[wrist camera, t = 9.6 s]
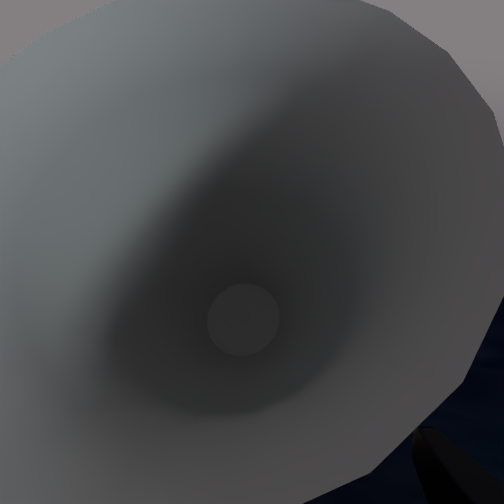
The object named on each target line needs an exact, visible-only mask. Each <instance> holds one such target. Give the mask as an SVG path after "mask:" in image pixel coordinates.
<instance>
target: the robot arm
mask: <svg viewBox="0 0 504 504" xmlns="http://www.w3.org/2000/svg"><path fill="white" fill-rule="evenodd" d="M411 454H412V459H413V463H414V466H415V468H416V471H417V474H418V477H419V479H420V482H421V485H422V488H423V490H424V493H425V496H426V499H427V501H428V504H504V484H503V483H502V482H500V481H499V480H498V479H497V478H495V477H494V476H493V475H492V474H491V473H489V472H488V471H487V470H486V469H484V468H483V467H482V466H481V465H480V464H478V463H477V462H476V461H475V460H473V459H472V458H471V457H470V456H469V455H467V454H466V453H465V452H464V451H462V450H461V449H460V448H459V447H458V446H456V445H455V444H454V443H453V442H451V441H450V440H449V439H448V438H447V437H445V436H444V435H443V434H442V433H440V432H439V431H438V430H437V429H435V428H434V427H430V426H428V427H417V428H416V429H415V430H414V435H413V442H412V449H411Z"/></svg>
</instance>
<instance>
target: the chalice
mask: <svg viewBox="0 0 504 504" xmlns="http://www.w3.org/2000/svg"><path fill="white" fill-rule="evenodd" d="M503 296H504V146H503V143H502V139H501V136H500V133H499V130H498V126H497V123H496V120H495V117H494V113H493V111H492V110H491V109H490V107H489V106H488V105H487V103H486V102H485V101H484V100H483V98H482V97H481V96H480V94H479V93H478V92H477V90H476V89H475V88H474V86H473V85H472V84H471V82H470V81H469V80H468V79H467V77H466V76H465V74H464V73H463V72H462V71H461V69H460V68H459V66H458V65H457V64H456V63H455V61H454V60H453V59H452V57H451V56H450V55H449V53H448V52H446V51H445V50H444V49H442V48H441V47H439V46H438V45H436V44H435V43H434V42H432V41H431V40H429V39H428V38H427V37H425V36H424V35H422V34H421V33H420V32H418V31H417V30H415V29H414V28H412V27H411V26H409V25H408V24H407V23H405V22H404V21H403V20H401V19H400V18H398V17H397V16H395V15H394V14H393V13H391V12H390V11H388V10H385V9H382V8H379V7H377V6H374V5H371V4H368V3H366V2H363V1H360V0H116V1H112V2H110V3H108V4H106V5H104V6H102V7H100V8H97V9H95V10H93V11H91V12H89V13H87V14H85V15H83V16H80V17H78V18H76V19H74V20H72V21H70V22H68V23H65V24H63V25H61V26H59V27H57V28H55V29H53V30H50V31H48V32H46V33H45V34H43V35H42V36H41V37H39V38H38V39H36V40H35V41H34V42H32V43H31V44H29V45H28V46H27V47H25V48H24V49H23V50H21V51H20V52H18V53H17V54H16V55H14V56H13V57H11V58H10V59H9V60H7V61H6V62H4V63H3V64H2V65H0V504H302V503H305V502H307V501H309V500H311V499H313V498H316V497H318V496H320V495H322V494H324V493H327V492H329V491H331V490H333V489H335V488H338V487H340V486H342V485H344V484H346V483H348V482H351V481H353V480H355V479H357V478H359V477H362V476H364V475H366V474H368V473H370V472H371V471H372V470H373V469H374V468H375V467H376V466H378V465H379V464H380V463H381V462H382V461H383V460H384V459H385V458H386V457H387V456H388V455H389V454H390V453H391V452H392V451H393V450H394V449H395V448H396V447H397V446H398V445H399V444H400V443H401V442H402V441H403V440H404V439H405V438H406V437H407V436H408V435H409V434H410V433H411V432H412V431H413V430H414V429H415V428H416V427H417V426H418V425H419V424H420V423H421V422H422V421H423V420H424V419H425V418H426V417H427V416H429V415H430V414H431V413H432V412H433V411H434V410H435V409H436V408H437V407H438V406H439V405H440V404H441V403H442V402H443V401H444V400H445V399H446V398H447V397H448V396H449V395H450V394H451V393H452V392H453V391H454V390H455V389H456V388H457V387H458V386H459V385H460V384H461V383H462V382H463V380H464V378H465V376H466V374H467V372H468V370H469V368H470V366H471V363H472V361H473V359H474V357H475V355H476V353H477V351H478V349H479V347H480V345H481V342H482V340H483V338H484V336H485V334H486V332H487V330H488V328H489V326H490V324H491V321H492V319H493V317H494V315H495V313H496V311H497V309H498V307H499V305H500V302H501V300H502V298H503Z"/></svg>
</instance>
